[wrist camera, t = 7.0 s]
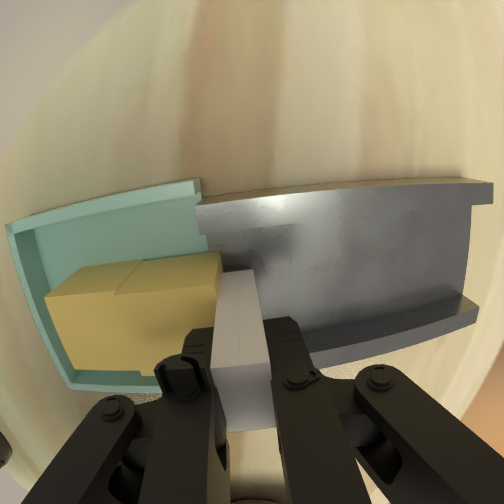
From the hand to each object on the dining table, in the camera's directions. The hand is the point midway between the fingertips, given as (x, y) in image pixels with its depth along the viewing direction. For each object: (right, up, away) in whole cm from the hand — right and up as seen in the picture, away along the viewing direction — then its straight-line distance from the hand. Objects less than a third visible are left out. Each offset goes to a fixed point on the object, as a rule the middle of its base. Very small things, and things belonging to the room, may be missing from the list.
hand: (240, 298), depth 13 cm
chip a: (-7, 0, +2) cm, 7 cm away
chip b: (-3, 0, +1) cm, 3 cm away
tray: (-7, 0, +2) cm, 7 cm away
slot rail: (+7, +2, +2) cm, 7 cm away
